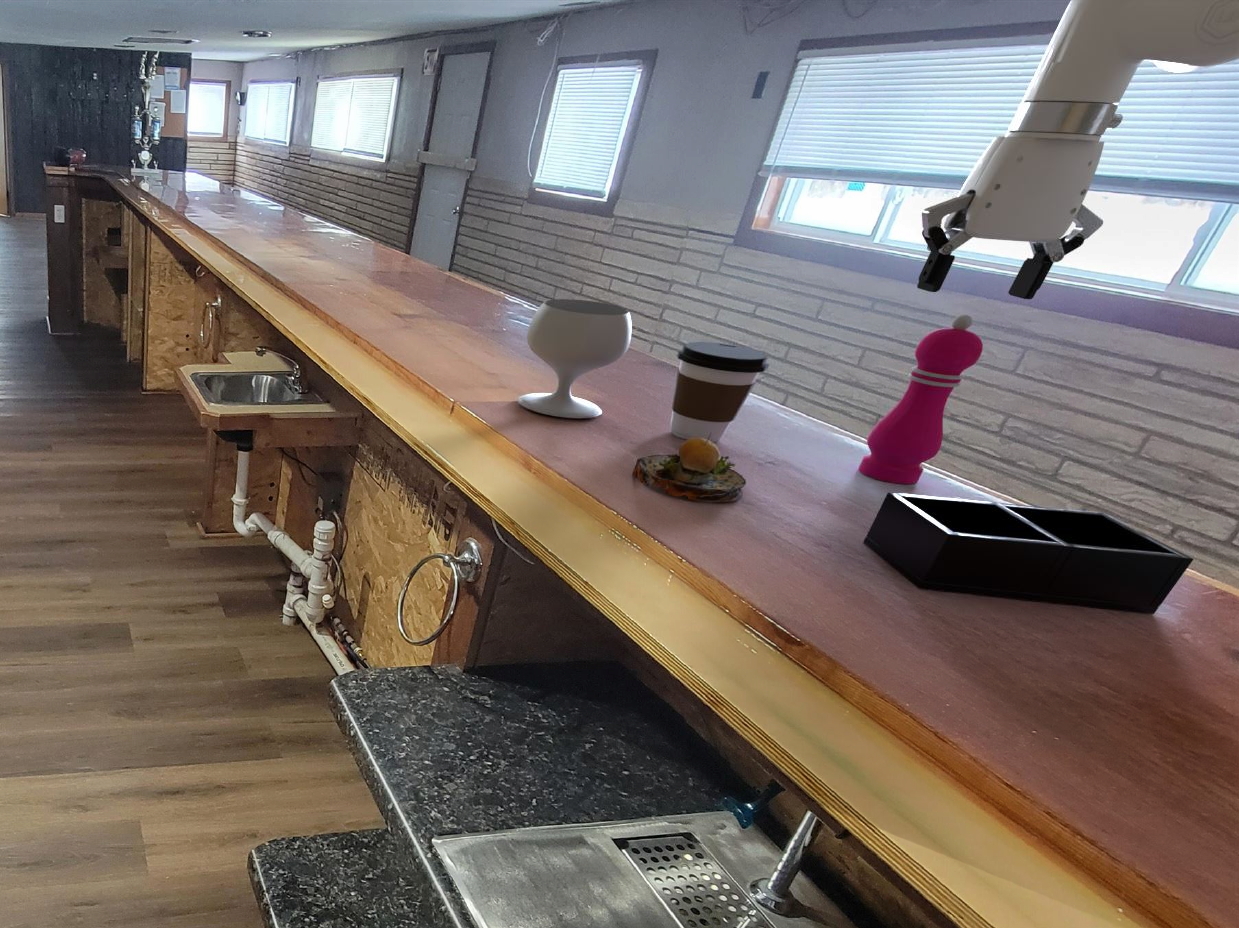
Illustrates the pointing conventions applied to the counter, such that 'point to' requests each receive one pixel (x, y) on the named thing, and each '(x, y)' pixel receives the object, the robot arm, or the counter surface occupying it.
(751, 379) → the coffee cup
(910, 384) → the pepper mill
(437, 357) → the counter surface
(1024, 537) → the divided box
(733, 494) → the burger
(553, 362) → the chalice
